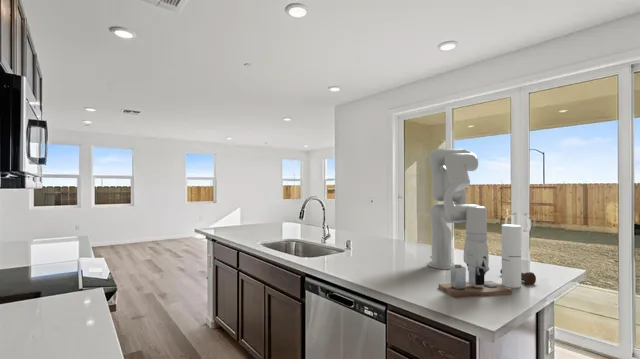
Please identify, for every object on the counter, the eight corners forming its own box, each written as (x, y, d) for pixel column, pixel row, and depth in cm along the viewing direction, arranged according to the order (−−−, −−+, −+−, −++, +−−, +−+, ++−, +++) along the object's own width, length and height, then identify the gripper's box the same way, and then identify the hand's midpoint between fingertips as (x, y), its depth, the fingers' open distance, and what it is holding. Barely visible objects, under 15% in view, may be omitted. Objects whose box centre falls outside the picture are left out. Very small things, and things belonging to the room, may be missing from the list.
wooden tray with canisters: (438, 287, 138) (438, 262, 138) (491, 284, 142) (491, 259, 142) (455, 298, 126) (455, 269, 126) (511, 294, 130) (511, 266, 130)
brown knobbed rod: (504, 279, 156) (533, 288, 142) (496, 274, 155) (524, 283, 141) (508, 267, 157) (538, 275, 143) (500, 263, 156) (529, 270, 142)
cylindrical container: (521, 288, 137) (520, 227, 137) (501, 285, 141) (500, 225, 140) (521, 284, 143) (521, 225, 143) (502, 281, 147) (502, 223, 147)
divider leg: (468, 284, 136) (468, 263, 136) (477, 283, 137) (477, 262, 137) (475, 287, 132) (474, 265, 132) (484, 286, 133) (484, 265, 133)
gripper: (455, 234, 142) (455, 277, 142) (481, 241, 126) (481, 290, 126) (471, 233, 143) (472, 276, 143) (499, 240, 127) (499, 289, 127)
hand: (476, 282), depth 134 cm, fingers closed on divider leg, 4 cm apart
